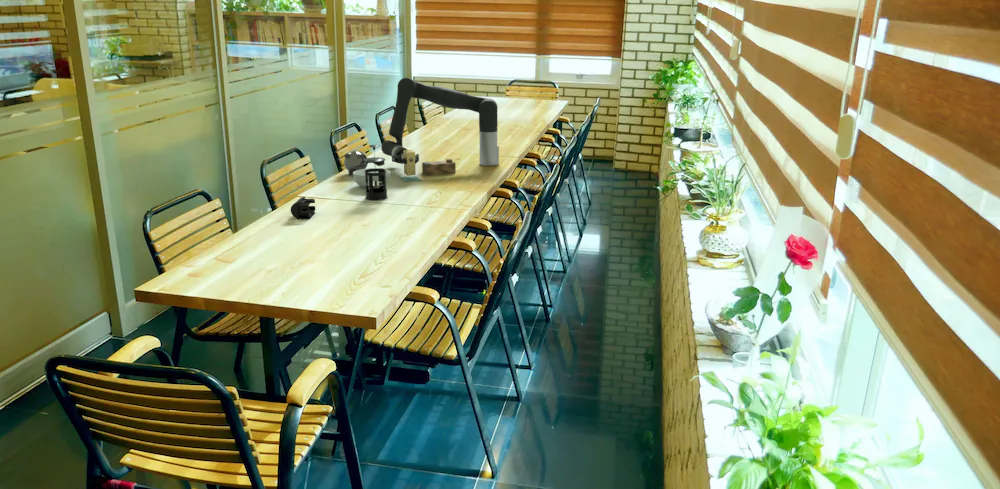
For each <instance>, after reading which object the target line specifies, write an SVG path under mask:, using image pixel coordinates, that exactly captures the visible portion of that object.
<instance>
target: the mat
mask: <svg viewBox="0 0 1000 489" xmlns="http://www.w3.org/2000/svg"><path fill="white" fill-rule="evenodd" d="M399 179H400V180H401V181H403V182H404V183H407V182H410V183H411V182H418V181H419V182H420V181H422V179H421V178H420V177H418V176H416V175H410V176H402V177H399Z"/></svg>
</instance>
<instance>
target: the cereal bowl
mask: <svg viewBox="0 0 1000 489" xmlns="http://www.w3.org/2000/svg"><path fill="white" fill-rule="evenodd" d="M374 168H375V167H374ZM374 168H373V167H371V168H366V169H361V170H357V171H354V172H353V174H352V177H353V180H354V182H355V183H356V184H357V185H359V186H361V187H363V188H365V189H366V178H365V170H367V169H374ZM384 169H385V170H386V184H387V183H388V182H390V180H391V176H392V174H391V173H392V172H391V170H389V169H386V168H384ZM368 173H375V171H374V172H368ZM376 173H378V171H376ZM372 177H373V181H375V176H372ZM376 181H379V177H378V176H376ZM368 182H369V176H368ZM373 188H379V187H373ZM368 189H369V186H368Z"/></svg>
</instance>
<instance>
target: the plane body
mask: <svg viewBox="0 0 1000 489" xmlns="http://www.w3.org/2000/svg"><path fill="white" fill-rule="evenodd" d="M421 168H422V172H421V173H422V174H424V175H425V176H435V175H437V176H438V175H446V174H456V172H457V171H456V168H457V167H456V162H454V161H453V159H452V158H447V159H446V160H440V161H437V160H436V161H424V162H421Z"/></svg>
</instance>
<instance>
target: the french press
mask: <svg viewBox="0 0 1000 489" xmlns="http://www.w3.org/2000/svg"><path fill="white" fill-rule="evenodd" d="M368 146H369V148H372V150H373V157H367V158H366V159H364V161H365V165H366V164H367V163H368V164H371V163H372V164H373V166H378V167H379V168H378V167H374V169H369V168H366V169H367V170H365V178H366V188H365V200H368V201H372V202H373V201H384V200H387V199H388V198H389V197H388V190H387V183H386V170H385V169H386V168H384V167H383V168H382V167H380V166H385V161H386V158H385V157H378V156H377V157H376V154H375V150H376V148H378V147H380V145H379V144H370V145H368ZM374 171H375V173H368V172H374ZM376 171H378V173H376ZM368 176H369V182H368ZM372 176H375V181H373V177H372ZM376 176H378V177H379V181H376ZM368 186H369V189H368ZM373 187H379V188H373Z"/></svg>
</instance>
